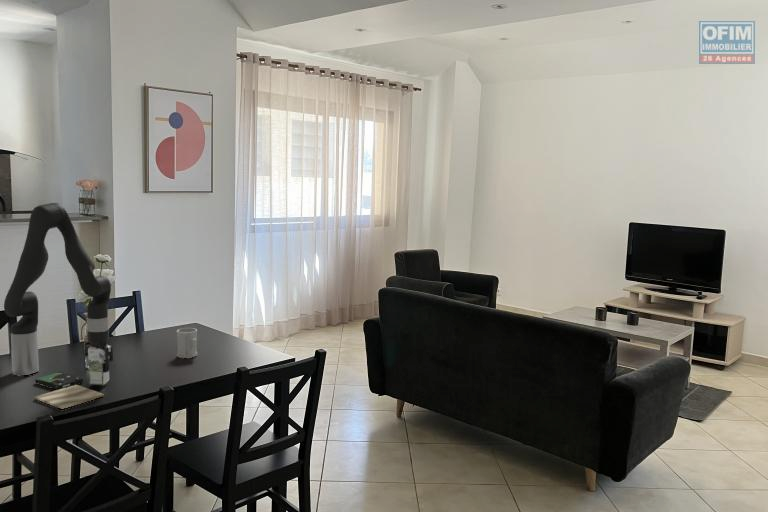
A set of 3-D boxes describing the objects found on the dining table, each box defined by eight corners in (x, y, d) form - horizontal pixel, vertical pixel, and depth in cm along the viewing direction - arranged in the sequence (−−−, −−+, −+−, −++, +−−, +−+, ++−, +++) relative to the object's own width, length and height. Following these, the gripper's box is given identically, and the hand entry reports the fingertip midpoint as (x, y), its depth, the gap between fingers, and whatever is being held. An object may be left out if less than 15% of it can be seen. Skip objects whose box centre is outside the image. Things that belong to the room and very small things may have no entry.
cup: (203, 353, 285) (203, 328, 283) (196, 359, 276) (195, 333, 274) (182, 352, 286) (181, 327, 284) (173, 358, 277) (173, 332, 275)
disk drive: (84, 384, 242) (59, 377, 249) (83, 377, 242) (58, 370, 248) (59, 392, 233) (34, 385, 240) (59, 385, 233) (34, 378, 239)
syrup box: (109, 380, 242) (109, 344, 240) (103, 385, 236) (102, 348, 234) (95, 379, 242) (94, 343, 240) (88, 384, 236) (87, 348, 234)
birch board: (34, 399, 223) (34, 396, 223) (76, 387, 237) (76, 384, 237) (62, 410, 215) (61, 407, 214) (104, 397, 228) (103, 394, 228)
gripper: (77, 327, 237) (78, 368, 239) (100, 333, 229) (101, 376, 232) (95, 323, 243) (96, 363, 245) (118, 329, 236) (119, 371, 238)
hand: (99, 369), depth 238 cm, fingers closed on syrup box, 8 cm apart
